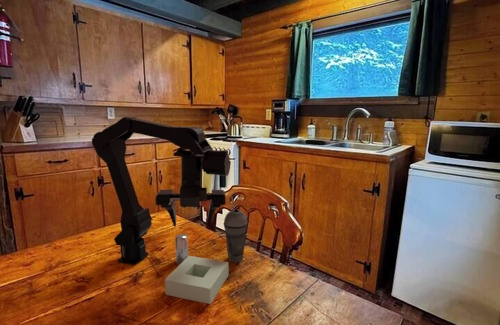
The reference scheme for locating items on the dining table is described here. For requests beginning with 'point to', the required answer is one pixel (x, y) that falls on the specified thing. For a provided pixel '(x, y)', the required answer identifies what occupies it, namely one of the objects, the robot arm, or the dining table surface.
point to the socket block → (197, 279)
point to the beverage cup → (235, 234)
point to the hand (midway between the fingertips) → (191, 225)
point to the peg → (181, 248)
